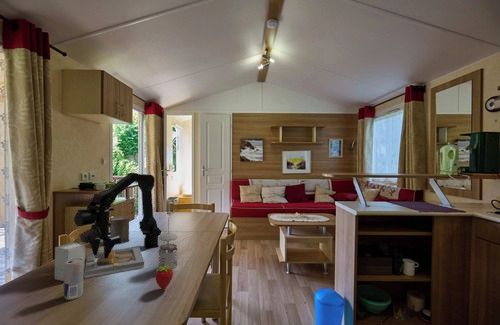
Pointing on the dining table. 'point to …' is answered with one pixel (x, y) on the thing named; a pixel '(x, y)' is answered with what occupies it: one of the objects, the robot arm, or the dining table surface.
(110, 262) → the dial
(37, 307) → the dining table surface
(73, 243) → the supplement box
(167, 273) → the strawberry
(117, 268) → the dial plate
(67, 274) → the energy drink
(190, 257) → the dining table surface
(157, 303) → the dining table surface
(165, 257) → the french press
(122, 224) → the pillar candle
